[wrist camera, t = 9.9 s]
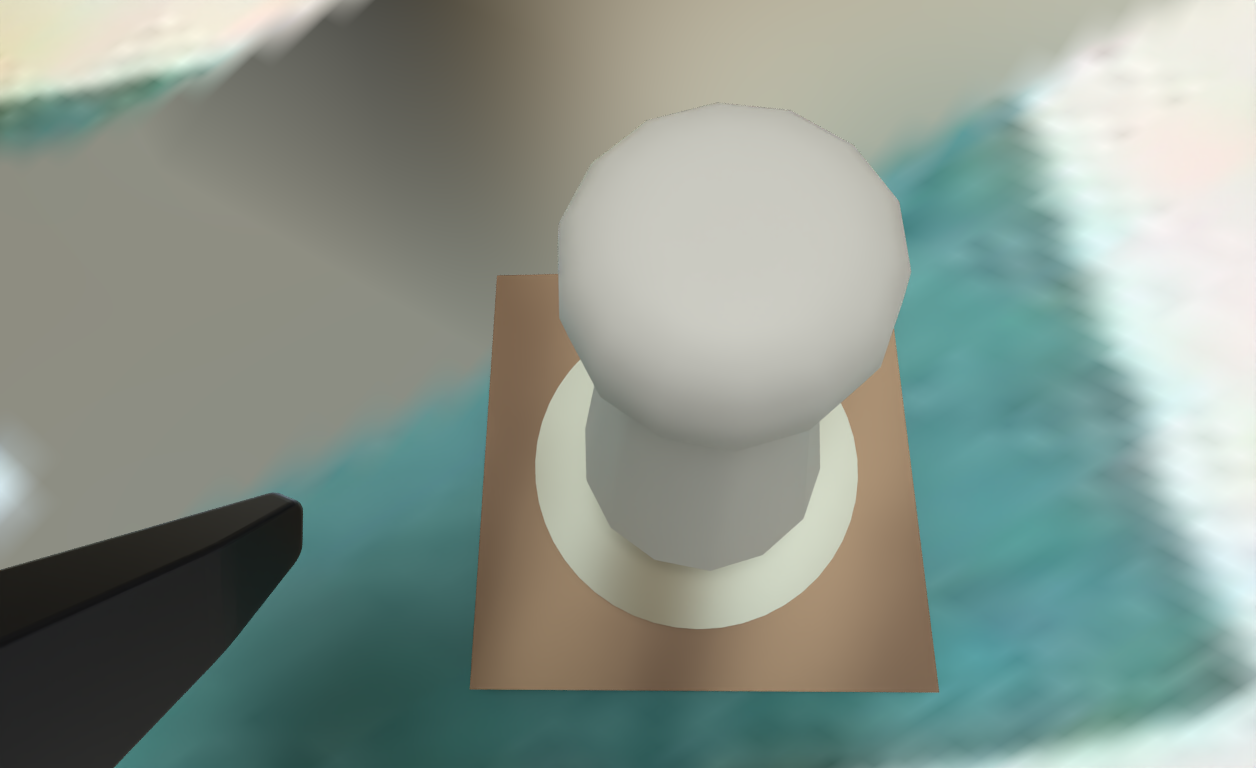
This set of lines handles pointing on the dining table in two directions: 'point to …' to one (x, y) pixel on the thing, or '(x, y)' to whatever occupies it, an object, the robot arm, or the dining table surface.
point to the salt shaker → (723, 320)
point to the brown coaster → (675, 594)
